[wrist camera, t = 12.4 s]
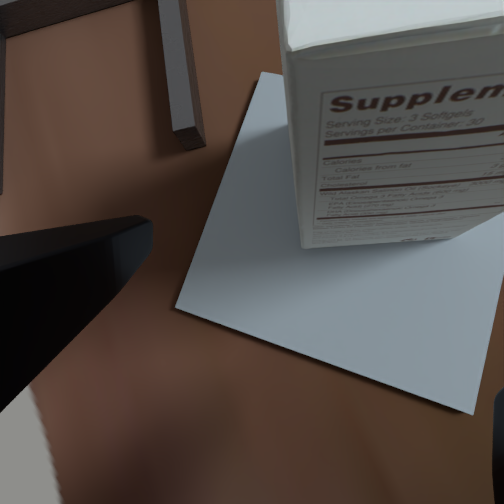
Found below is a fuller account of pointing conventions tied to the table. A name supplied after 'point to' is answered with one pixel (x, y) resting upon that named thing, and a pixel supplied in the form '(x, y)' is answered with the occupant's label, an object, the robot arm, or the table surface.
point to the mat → (342, 277)
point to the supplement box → (393, 117)
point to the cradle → (174, 44)
